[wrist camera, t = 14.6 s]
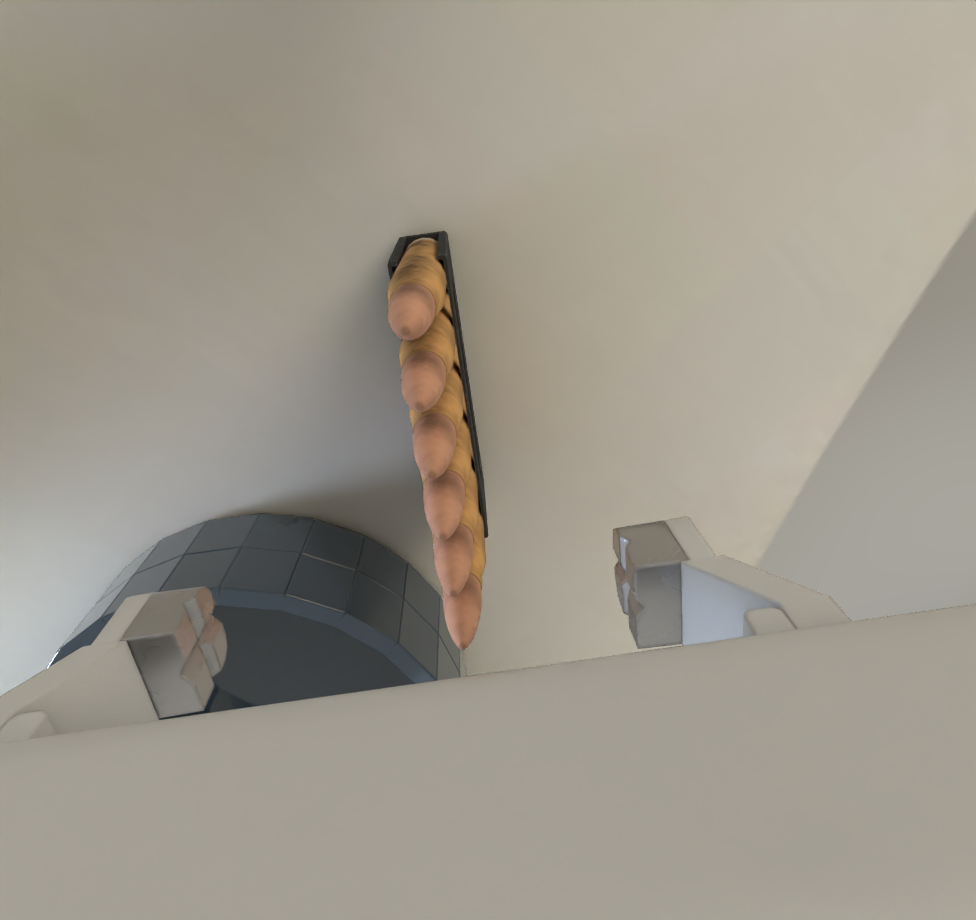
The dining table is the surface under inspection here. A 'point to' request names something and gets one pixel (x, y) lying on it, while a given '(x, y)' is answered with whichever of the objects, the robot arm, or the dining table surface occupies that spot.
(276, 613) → the bowl
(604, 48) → the dining table surface
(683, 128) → the dining table surface
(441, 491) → the ammunition clip
